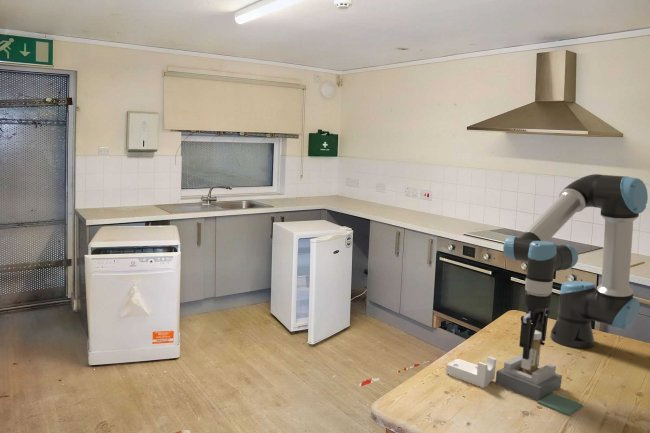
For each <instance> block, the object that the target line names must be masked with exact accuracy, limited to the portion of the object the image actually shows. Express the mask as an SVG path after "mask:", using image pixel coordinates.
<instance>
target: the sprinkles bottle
mask: <svg viewBox="0 0 650 433" xmlns="http://www.w3.org/2000/svg"><path fill="white" fill-rule="evenodd" d="M541 336H542V333H541V332H540V331H538V330H535V334H534V338H533V343H532V348H531V349H533V353H532V362H531V370H527V369H525V368H523V369H522V372H524V373H526V374H529V375H532V373H533V372H534V371H536V370H537V368H538V361H539V362H540V359H539V349H540V340H541Z"/></svg>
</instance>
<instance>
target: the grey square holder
mask: <svg viewBox="0 0 650 433" xmlns="http://www.w3.org/2000/svg"><path fill="white" fill-rule="evenodd" d="M521 364H522V354H519V355H518V356H515V357H513V358H511V359H509V360H506V361H504V364H503V367H502V368H500V369H498V370H496V371H495V385H498V386H501V387H503V388H506V389H508V390H510V391H513V392H515V393H518V394H521V395H523V396H525V397H527V398H530V399H532V400H535V401H537V402H538V401H539V400H541V399H543V398H544V397H546V396H548V395H549V394H551V393H555V392H556V391H558V390H560V389H561V386H562V378H563V377H562V376H563V375H562V374H559V373H557V372H556V369H557V366H556V365H555V364H552V363H548V364H547V365H544V366H541V365H539V366H538V368H537V370H536V371H534V372H533V373H532V375H529V374H526V373H524V372H521V371H522V369H523V368H522V367H521Z"/></svg>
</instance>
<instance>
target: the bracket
mask: <svg viewBox="0 0 650 433" xmlns="http://www.w3.org/2000/svg"><path fill="white" fill-rule="evenodd" d="M496 365H497V358H495V357H492V356H487V357H486V361H485V363H484V362H481V361H478V362H477V364H475V363H472V362H469V361H466V360H464V359H460V358H459V357H458V358H455V359H454V360H452V361H450V362H448V363H446V368H445V375H447V374H449V375H448V376H450V375H451V376H450V377H452V376H454V377H453V378H455V377H456V378H455V379H458V378H459V379H458V380H460V379H462V380H461V381H463V380H464V381H463V382H466V381H467V382H466V383H469V384H471V383H472V385H474V384H475V386H477V387H479V386H480V387H481V388H483V389H485V388H486V387H488V386H489V385H490V383H491V382H493V381H494V380H495V379H496V369H497V368H496V367H497V366H496ZM480 387H479V388H480Z"/></svg>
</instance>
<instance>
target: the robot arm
mask: <svg viewBox="0 0 650 433" xmlns="http://www.w3.org/2000/svg"><path fill="white" fill-rule="evenodd" d="M648 195H649V194H648V189H647V186H646V184H645V183H644V181H643V180H642V179H640V178H637V177H631V176H628V175H627V176H626V175H612V174H609V175H608V174H600V173H599V174H598V173H597V174H596V173H595V174H590V175H585V176H582V177H580V178H578V179H576V180H575V181H572V182H571V183H569V184H568V185H567V186H565V187H564V188H563V189H561V191H560V192H559V195H558V198H557V199H556V200H555V201H554V202H553V203H552V204H551V205H550V206H549V207H548V208H547V209H546V210H545V211H544V212H542V214H541V215H540V216H538V218H537V219H536V220H535V221H534V222H533V223H532V224H531V225H530V226H529V227H528V228H527V229H525V231H524V232H523V233H522V234H521V235H520V236H516V235H515V236H512V235H511V236H508V237H507V238H506V239H505V241H504V243H503V248H502V249H503V250H502V251H503V254H504V256H505V257H507V258H508V259H510V260H513V261H515V262H516V261H517V262H522V263H526V264H527V266H526V268H527V269H526V273H525V274H526V276H525V277H526V278H525V279H524V282H525V286H524V290H525V291H524V294H523V295H524V296H523V304H524V305H525V306H526V307H527V309H526V314H525V315H520V316H521V317H520V324H521V325H520V333H519V334H520V336H519V344H518V346H519V347H520V348H522V354H521V355H522V364H521V367H522V368H525V369H527V370H531V362H532V353H533V349H531V348H532V343H533V338H534V334H535V330H538V331H540V332H541V333H542V336H541V340H540V349H539V361H538V366H540V358H541V357H540V355H541V348H542V346H545V345H546V342H545V341H546V338H547V329H548V320H549V315H550V313H551V312H550V310H548V308H550V307H551V301H552V295H551V294H552V293H553V285H554V284H553V283H554V276H555V275H554V274H555V273H554V272H558V271H559V272H560V271H566V270H568V269H571V268H573V267H575V266H576V264H577V263H578V260H579V254H578V251H577V250H576V248H574V247H573V246H572V245H571V244H560V245H557V244H555V243H554V242H552V241H550V240H551V239H552V238H553V237H554V236H555V235H556V234H557V233H558V232H559V231H560V230H561V229H562V228H563V226H565V224H566V223H568V221H569V220H571V218H572V217H573V216H574V215H575V214H576V213H579V212H580V213H581V212H582V211H583V210H585V208H599V209H600V216H601V217H602V218H603V220H604V233H603V248H602V249H603V250H602V251H603V252H602V253H603V254H602V271H601V283H600V284H598V286H597V285H596V284H595V282H592V281H584V280H569V281H568V280H567V281H565V282H563V283H562V284H561V287H560V291H559V301H558V310H557V319H556V320H555V323H554V325H553V326H552V329H551V331H550V339H551V340H552V341H553V342H554V343H556V344H559V345H563V346H567V347H570V348H577V349H589V348H592V347H594V343H595V342H594V341H595V338H594V333H593V328H592V321H593V322H597V323H600V324H603V325H606V326H610V327H611V328H616V329H617V328H618V329H623V330H625V329H626V330H627V329H628V328H630V327H631V326H632V325H633V324H634V322H635V320H636V319H637V318H638V315H639V311H640V306H641V304H640V303H641V302H640V300H639V299H638V298H636V297H634V290H633V289H632V287H631V286H630V275H631V274H630V273H631V262H632V244H633V231H634V230H633V229H634V221H635V220H637V219H638V218H639V216H640V214H641V213H643V212H645V210H646V208H647V204H648Z"/></svg>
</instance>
